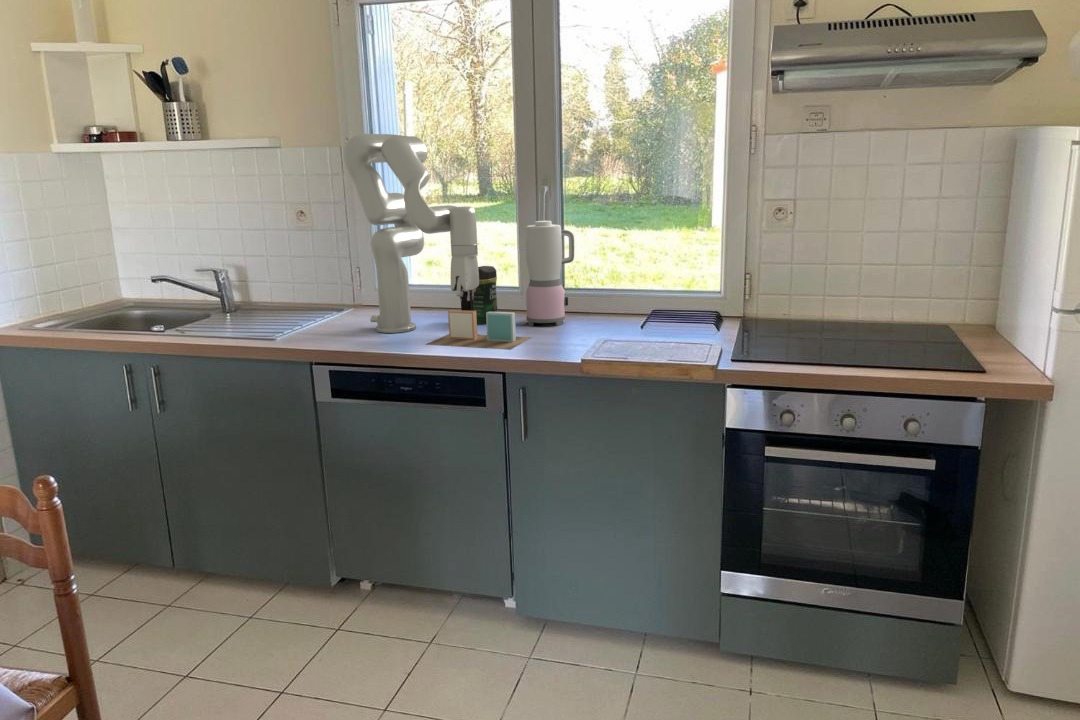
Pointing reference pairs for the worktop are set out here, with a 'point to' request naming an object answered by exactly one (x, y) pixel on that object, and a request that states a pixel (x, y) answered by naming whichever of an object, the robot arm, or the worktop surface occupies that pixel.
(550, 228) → the blender
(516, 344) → the walnut board
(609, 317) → the worktop surface
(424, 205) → the robot arm
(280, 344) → the worktop surface
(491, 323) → the grey-blue tile
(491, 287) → the coffee jar
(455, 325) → the terracotta tile
